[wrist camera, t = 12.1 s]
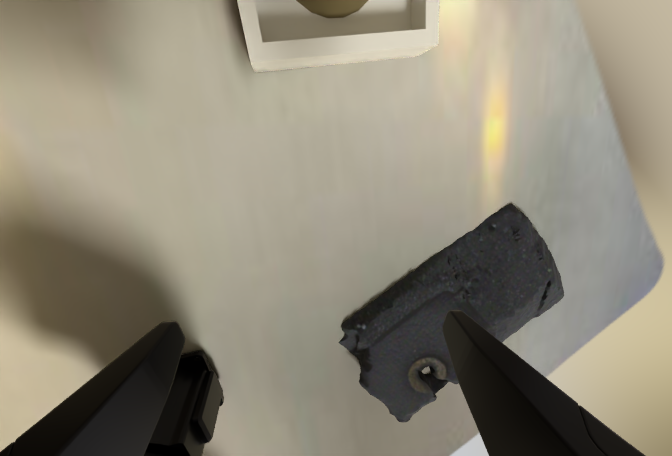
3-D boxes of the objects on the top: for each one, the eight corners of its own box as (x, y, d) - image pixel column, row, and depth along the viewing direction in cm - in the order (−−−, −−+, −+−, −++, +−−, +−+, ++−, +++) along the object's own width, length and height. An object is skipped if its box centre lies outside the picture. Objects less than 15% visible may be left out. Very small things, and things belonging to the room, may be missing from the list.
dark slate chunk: (553, 292, 29) (602, 320, 25) (399, 402, 30) (419, 447, 26) (513, 188, 23) (568, 202, 18) (321, 332, 24) (331, 377, 20)
